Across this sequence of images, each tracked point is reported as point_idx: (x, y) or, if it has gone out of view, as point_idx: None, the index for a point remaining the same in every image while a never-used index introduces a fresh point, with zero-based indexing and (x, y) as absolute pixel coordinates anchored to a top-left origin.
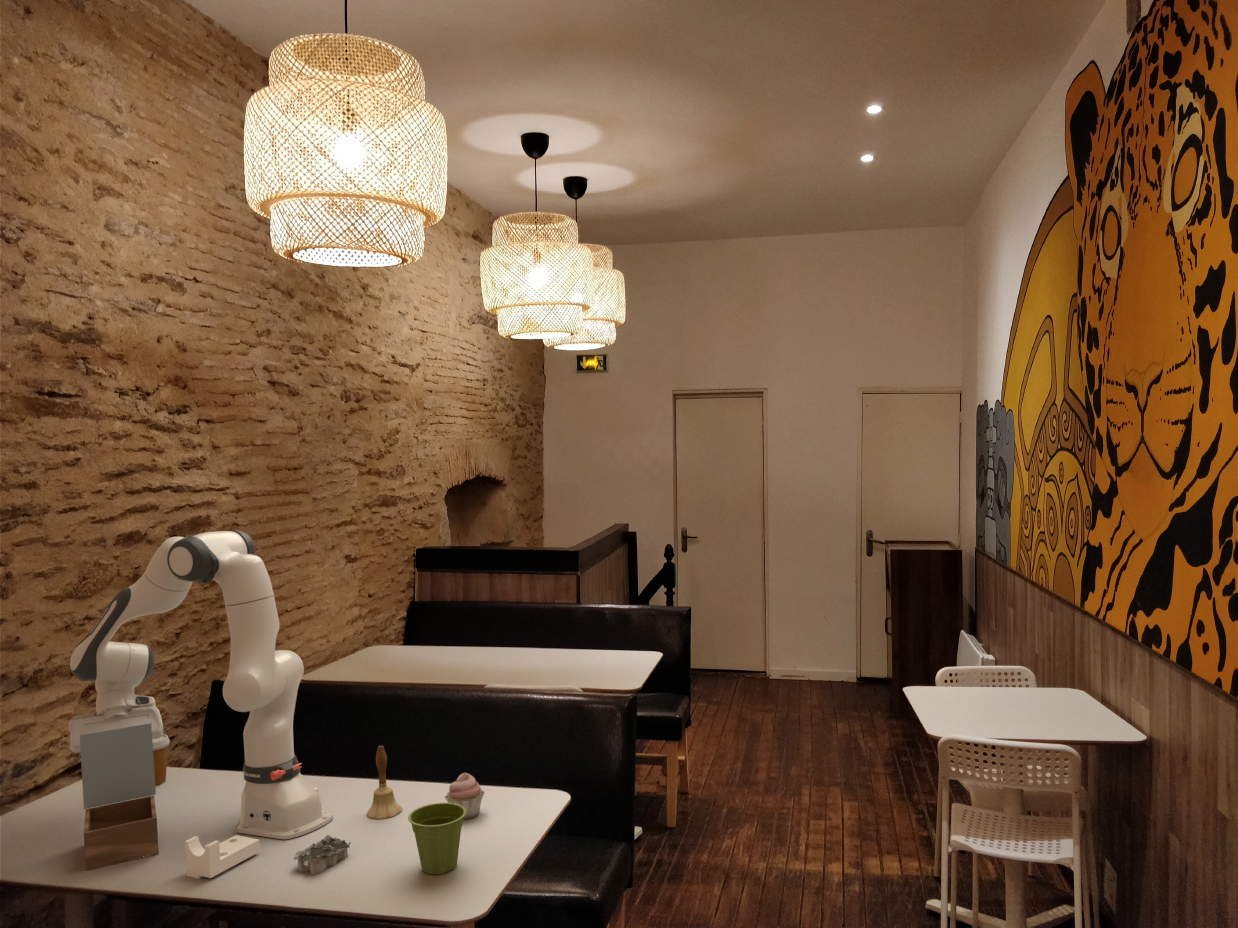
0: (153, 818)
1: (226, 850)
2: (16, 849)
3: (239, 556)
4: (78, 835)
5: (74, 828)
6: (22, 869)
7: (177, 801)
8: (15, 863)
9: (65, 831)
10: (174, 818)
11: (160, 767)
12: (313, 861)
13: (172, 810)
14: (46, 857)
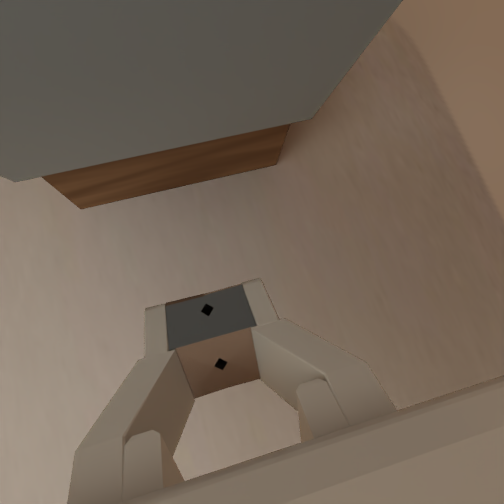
0: None
1: None
2: (478, 200)
3: None
4: (330, 245)
5: (367, 316)
6: (394, 52)
7: (40, 484)
8: (432, 99)
9: (387, 298)
10: (28, 284)
11: None
12: None
13: (47, 376)
14: (362, 107)
